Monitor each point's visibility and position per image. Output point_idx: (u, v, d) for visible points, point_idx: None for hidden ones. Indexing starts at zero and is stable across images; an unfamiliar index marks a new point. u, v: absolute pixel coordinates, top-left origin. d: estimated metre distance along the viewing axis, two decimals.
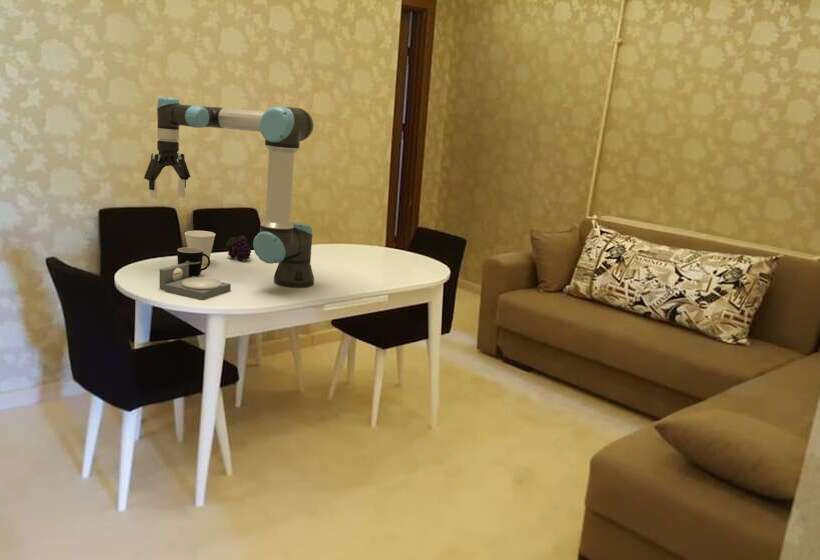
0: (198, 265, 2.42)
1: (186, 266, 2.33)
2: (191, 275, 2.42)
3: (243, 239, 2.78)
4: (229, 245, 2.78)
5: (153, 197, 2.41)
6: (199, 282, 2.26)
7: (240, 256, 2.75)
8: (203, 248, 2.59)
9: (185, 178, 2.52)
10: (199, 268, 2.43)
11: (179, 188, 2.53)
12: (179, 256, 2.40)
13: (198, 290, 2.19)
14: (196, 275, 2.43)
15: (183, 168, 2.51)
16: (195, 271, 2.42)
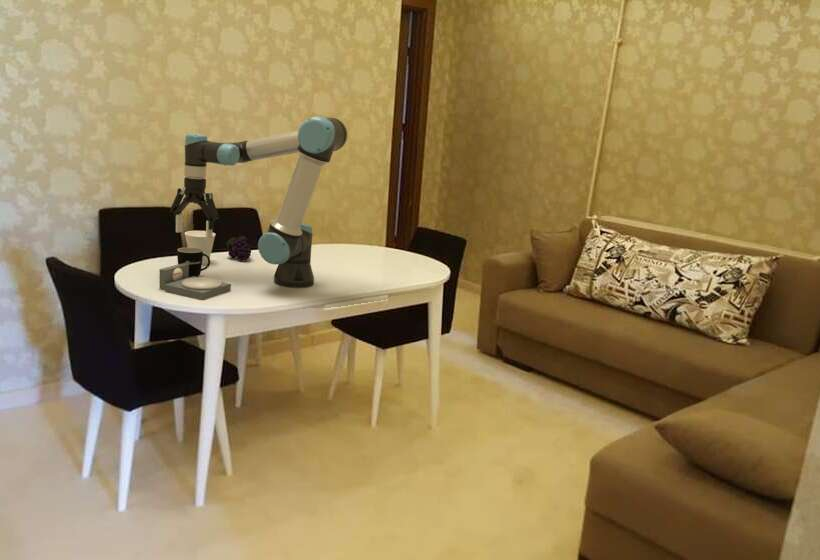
0: (198, 265, 2.42)
1: (186, 266, 2.33)
2: (191, 275, 2.42)
3: (243, 239, 2.78)
4: (229, 245, 2.78)
5: None
6: (199, 282, 2.26)
7: (240, 256, 2.74)
8: (203, 248, 2.59)
9: None
10: (199, 268, 2.43)
11: None
12: (179, 256, 2.40)
13: (198, 290, 2.19)
14: (196, 275, 2.43)
15: None
16: (195, 271, 2.42)
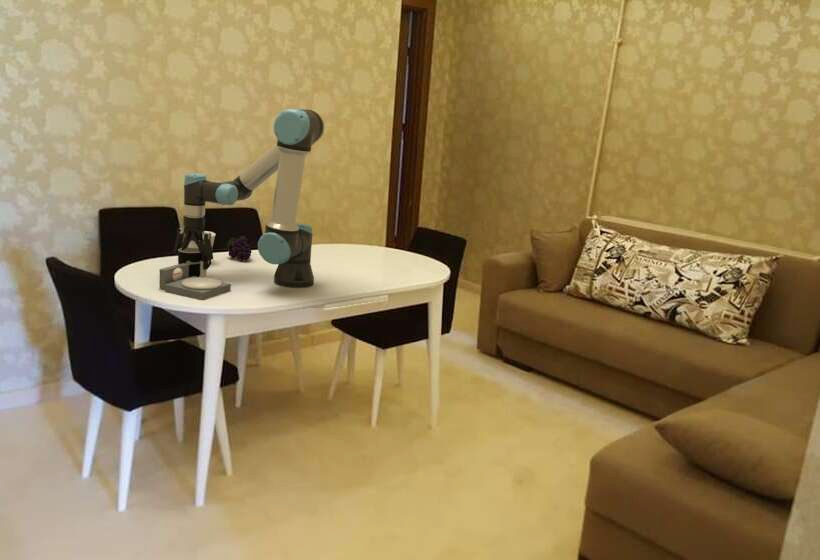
0: (199, 265, 2.42)
1: (186, 266, 2.33)
2: (192, 275, 2.42)
3: (243, 239, 2.78)
4: (229, 245, 2.78)
5: None
6: (199, 282, 2.26)
7: (240, 256, 2.74)
8: None
9: (203, 259, 2.41)
10: None
11: None
12: (180, 256, 2.40)
13: (198, 290, 2.19)
14: (197, 275, 2.43)
15: None
16: (196, 271, 2.42)
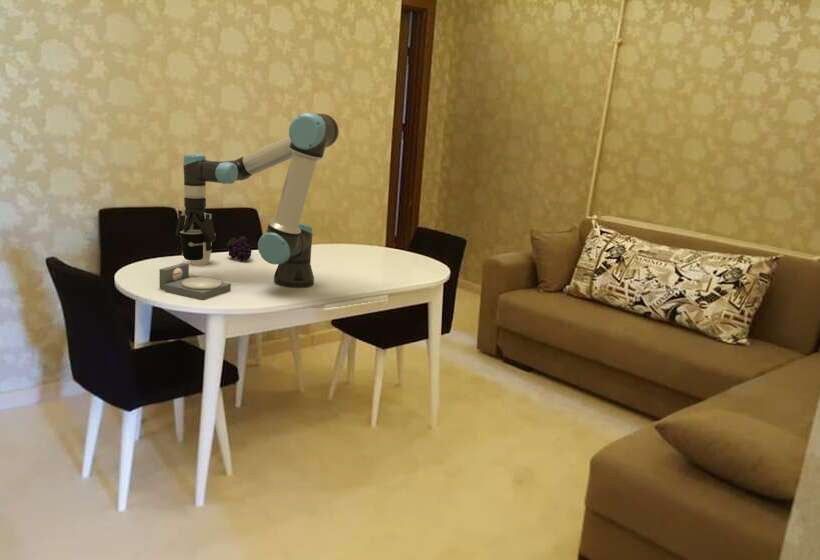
0: (202, 246, 2.40)
1: (186, 266, 2.33)
2: (195, 257, 2.39)
3: (243, 239, 2.78)
4: (229, 245, 2.77)
5: None
6: (199, 282, 2.26)
7: (241, 256, 2.74)
8: None
9: (205, 240, 2.39)
10: None
11: None
12: (182, 238, 2.38)
13: (198, 290, 2.19)
14: (200, 257, 2.41)
15: None
16: (199, 253, 2.40)
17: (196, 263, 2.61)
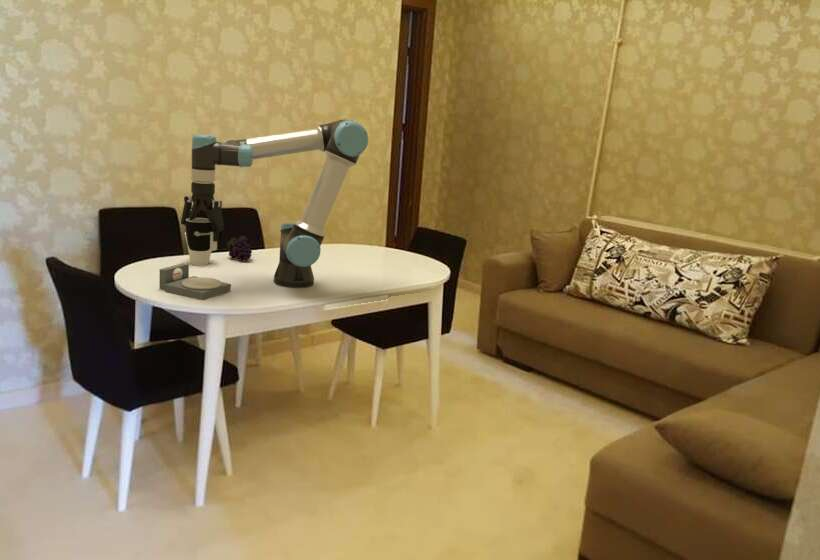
0: (209, 236, 2.20)
1: (186, 266, 2.33)
2: (201, 247, 2.19)
3: (244, 239, 2.78)
4: (230, 245, 2.77)
5: None
6: (199, 282, 2.26)
7: (241, 256, 2.74)
8: None
9: (213, 230, 2.19)
10: None
11: None
12: (188, 226, 2.17)
13: (198, 290, 2.19)
14: (206, 248, 2.21)
15: None
16: (205, 243, 2.19)
17: (196, 263, 2.61)
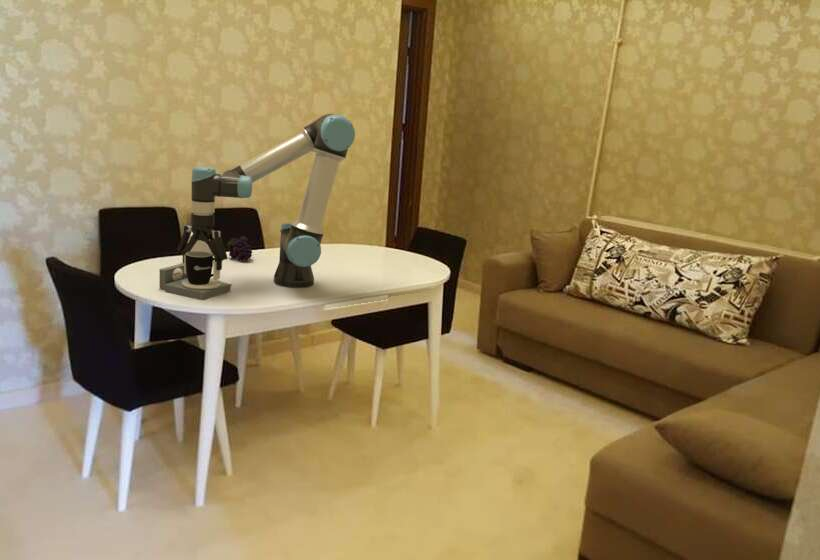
0: (208, 270, 2.22)
1: None
2: (201, 281, 2.22)
3: (244, 240, 2.77)
4: (230, 246, 2.77)
5: None
6: None
7: (241, 257, 2.74)
8: (203, 248, 2.59)
9: (216, 259, 2.21)
10: (209, 274, 2.24)
11: None
12: (188, 261, 2.20)
13: (198, 290, 2.19)
14: (206, 281, 2.23)
15: None
16: (205, 277, 2.22)
17: None
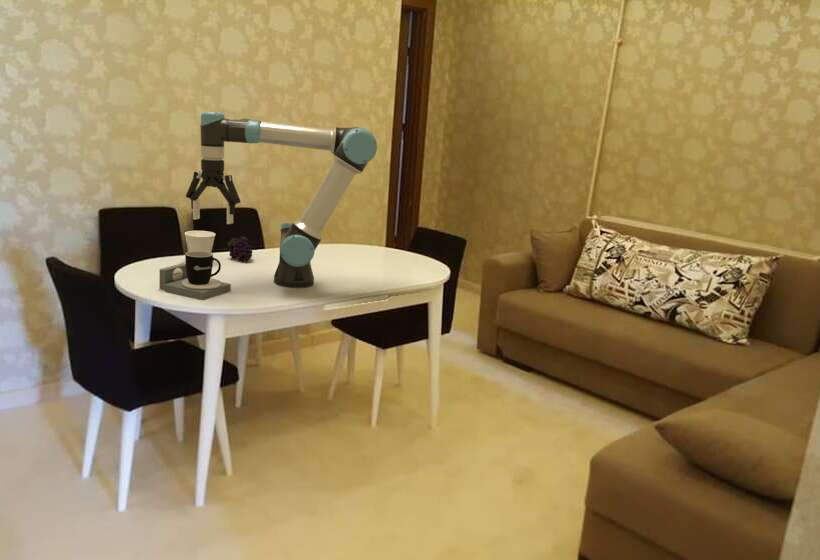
0: (208, 270, 2.22)
1: None
2: (201, 281, 2.22)
3: (244, 240, 2.77)
4: (230, 246, 2.77)
5: None
6: None
7: (241, 257, 2.73)
8: (203, 248, 2.59)
9: None
10: (209, 274, 2.24)
11: None
12: (187, 261, 2.20)
13: (198, 290, 2.19)
14: (206, 281, 2.23)
15: None
16: (205, 277, 2.22)
17: None
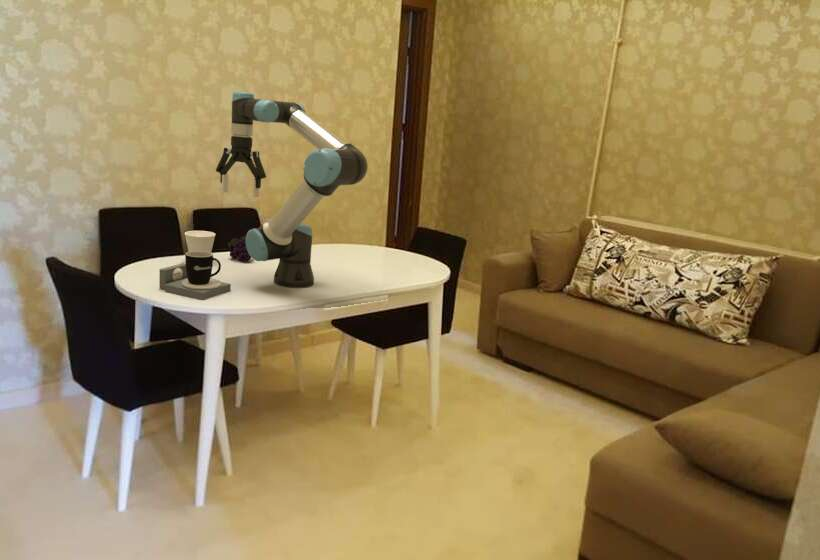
0: (208, 270, 2.22)
1: None
2: (201, 281, 2.22)
3: (245, 240, 2.77)
4: (231, 246, 2.76)
5: None
6: None
7: (242, 257, 2.73)
8: (203, 248, 2.59)
9: None
10: (209, 274, 2.24)
11: None
12: (187, 261, 2.20)
13: (198, 290, 2.19)
14: (206, 281, 2.23)
15: None
16: (205, 277, 2.22)
17: None
